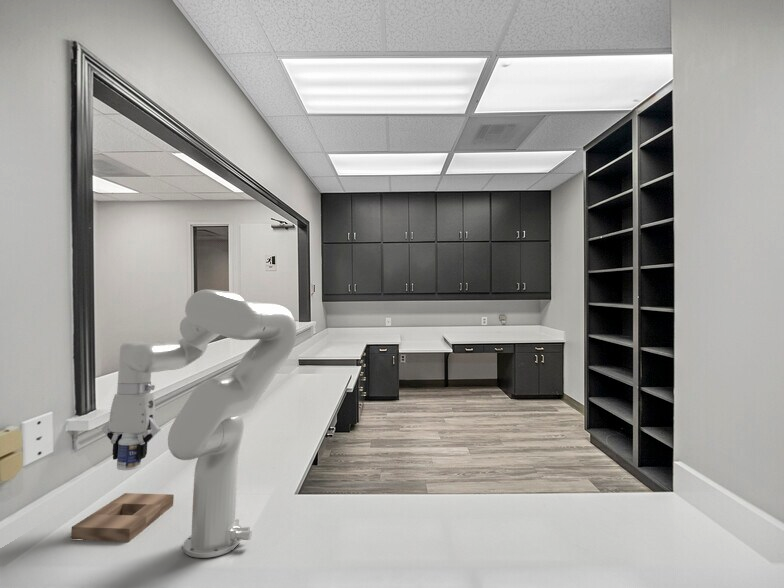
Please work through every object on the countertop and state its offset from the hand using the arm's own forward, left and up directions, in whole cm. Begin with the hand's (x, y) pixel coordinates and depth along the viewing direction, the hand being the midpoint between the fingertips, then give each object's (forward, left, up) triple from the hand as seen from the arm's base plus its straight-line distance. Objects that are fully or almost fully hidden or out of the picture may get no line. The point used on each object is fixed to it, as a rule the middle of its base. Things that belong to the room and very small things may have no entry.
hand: (129, 457), depth 113 cm
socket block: (0, 0, -16) cm, 16 cm away
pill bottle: (0, 0, -3) cm, 3 cm away
